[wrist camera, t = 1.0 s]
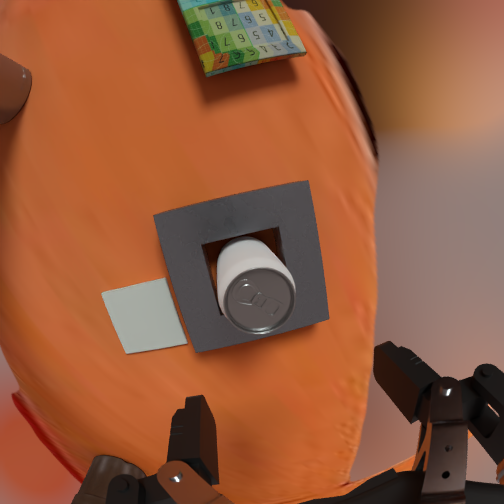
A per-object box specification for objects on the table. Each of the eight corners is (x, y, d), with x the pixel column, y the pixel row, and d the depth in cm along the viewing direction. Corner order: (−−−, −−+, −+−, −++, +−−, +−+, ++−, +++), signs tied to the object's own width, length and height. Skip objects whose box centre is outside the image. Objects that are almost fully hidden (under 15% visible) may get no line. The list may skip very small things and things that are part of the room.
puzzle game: (251, -48, 19) (309, 48, 23) (247, -30, 23) (297, 64, 28) (165, -33, 18) (205, 70, 23) (169, -14, 23) (206, 86, 27)
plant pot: (115, 486, 41) (106, 534, 25) (71, 449, 37) (51, 501, 21) (169, 484, 41) (166, 540, 25) (124, 446, 37) (109, 512, 22)
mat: (127, 351, 33) (126, 353, 32) (102, 292, 31) (101, 293, 30) (187, 341, 34) (187, 343, 33) (166, 277, 31) (165, 278, 31)
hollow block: (197, 336, 34) (195, 352, 30) (161, 212, 30) (153, 215, 26) (318, 306, 35) (329, 319, 31) (297, 181, 31) (308, 180, 27)
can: (236, 224, 31) (248, 244, 20) (282, 254, 33) (317, 288, 21) (206, 271, 32) (201, 315, 20) (252, 298, 33) (270, 351, 22)
